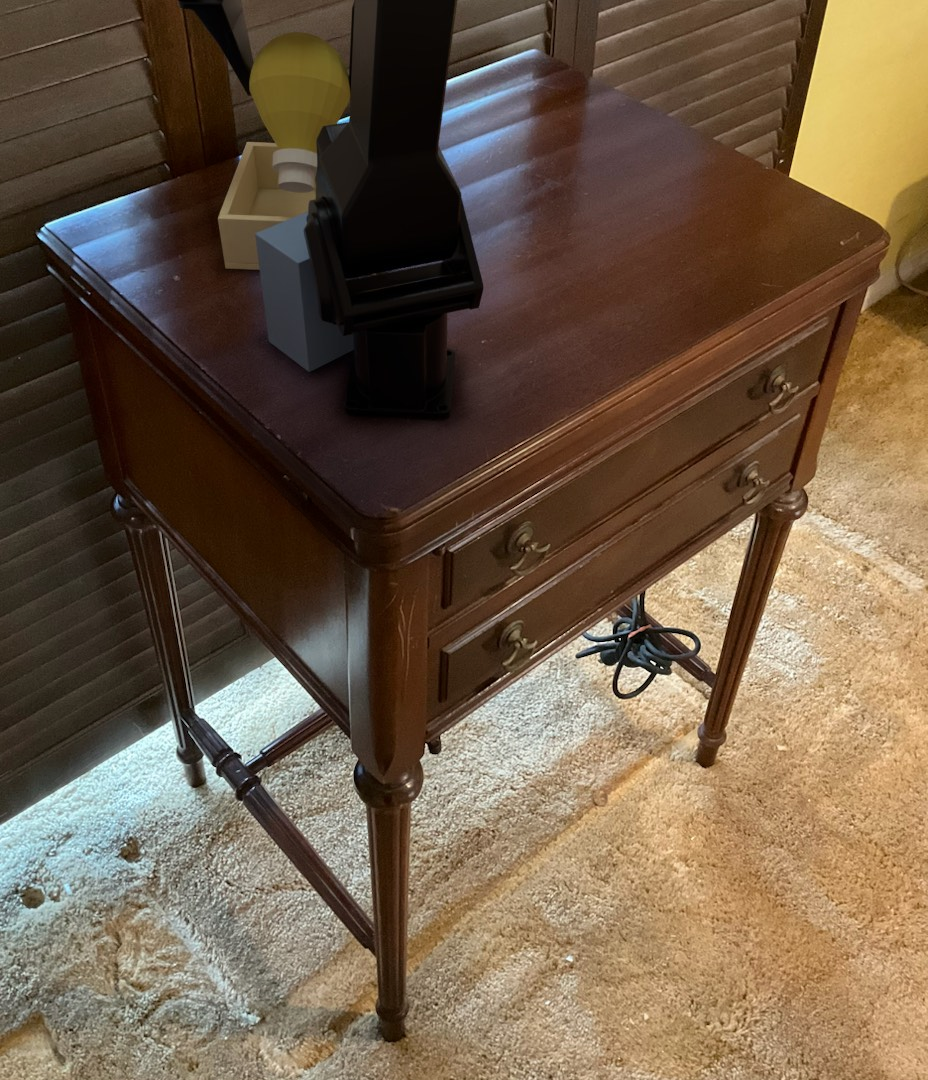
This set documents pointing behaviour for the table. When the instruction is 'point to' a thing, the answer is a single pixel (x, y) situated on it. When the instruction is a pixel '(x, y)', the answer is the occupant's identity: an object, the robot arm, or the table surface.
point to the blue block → (295, 298)
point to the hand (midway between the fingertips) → (303, 95)
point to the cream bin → (255, 205)
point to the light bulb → (298, 101)
